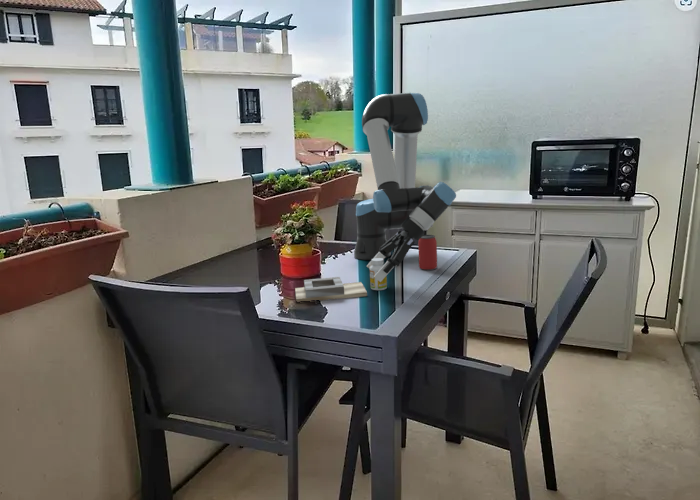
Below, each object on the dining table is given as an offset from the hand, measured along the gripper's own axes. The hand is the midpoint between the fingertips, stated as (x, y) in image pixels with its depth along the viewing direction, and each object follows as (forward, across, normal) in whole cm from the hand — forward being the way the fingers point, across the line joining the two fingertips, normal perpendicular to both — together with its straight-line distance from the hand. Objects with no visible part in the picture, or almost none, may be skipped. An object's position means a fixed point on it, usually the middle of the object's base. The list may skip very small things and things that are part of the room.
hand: (373, 273), depth 164 cm
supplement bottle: (+2, 0, -5) cm, 6 cm away
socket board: (+14, -1, +7) cm, 15 cm away
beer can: (-13, +19, -20) cm, 31 cm away
